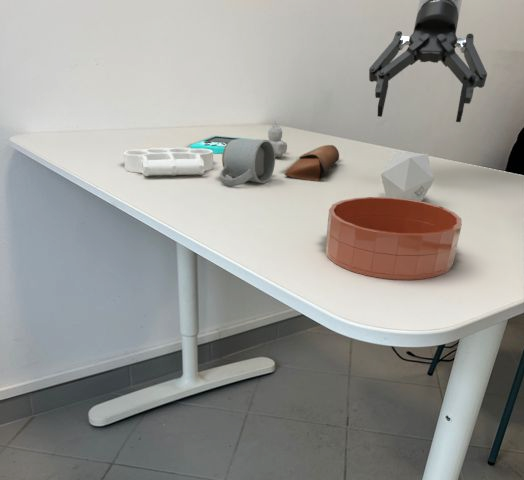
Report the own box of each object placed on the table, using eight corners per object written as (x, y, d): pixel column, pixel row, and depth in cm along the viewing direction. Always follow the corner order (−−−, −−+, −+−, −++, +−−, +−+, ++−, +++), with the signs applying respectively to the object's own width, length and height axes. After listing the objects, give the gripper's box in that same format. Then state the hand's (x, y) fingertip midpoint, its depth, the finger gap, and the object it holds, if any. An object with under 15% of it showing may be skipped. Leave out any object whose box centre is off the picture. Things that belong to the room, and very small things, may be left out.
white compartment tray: (126, 179, 101) (124, 163, 113) (220, 177, 105) (208, 161, 118) (125, 161, 99) (122, 147, 112) (220, 159, 104) (208, 145, 116)
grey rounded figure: (278, 154, 127) (280, 117, 123) (292, 159, 122) (294, 121, 118) (258, 155, 125) (259, 118, 121) (271, 161, 120) (273, 122, 116)
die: (407, 216, 88) (450, 165, 85) (365, 182, 89) (406, 131, 86) (407, 221, 96) (446, 174, 94) (368, 190, 97) (406, 143, 94)
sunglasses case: (301, 158, 121) (318, 132, 117) (326, 177, 122) (344, 151, 118) (282, 175, 106) (301, 146, 102) (311, 196, 107) (330, 168, 103)
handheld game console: (188, 150, 128) (188, 144, 127) (214, 140, 141) (214, 134, 141) (228, 154, 126) (228, 148, 125) (250, 143, 139) (250, 138, 138)
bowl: (452, 243, 75) (460, 204, 72) (452, 288, 61) (463, 241, 59) (337, 230, 79) (341, 192, 76) (314, 268, 65) (317, 224, 63)
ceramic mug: (240, 173, 109) (240, 132, 105) (275, 179, 105) (276, 137, 101) (209, 184, 101) (208, 141, 97) (246, 190, 97) (246, 146, 93)
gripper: (504, 35, 99) (489, 133, 95) (369, 31, 105) (348, 123, 101) (515, -1, 92) (499, 103, 88) (369, -3, 98) (347, 94, 93)
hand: (418, 114), depth 94 cm, fingers open, 13 cm apart
